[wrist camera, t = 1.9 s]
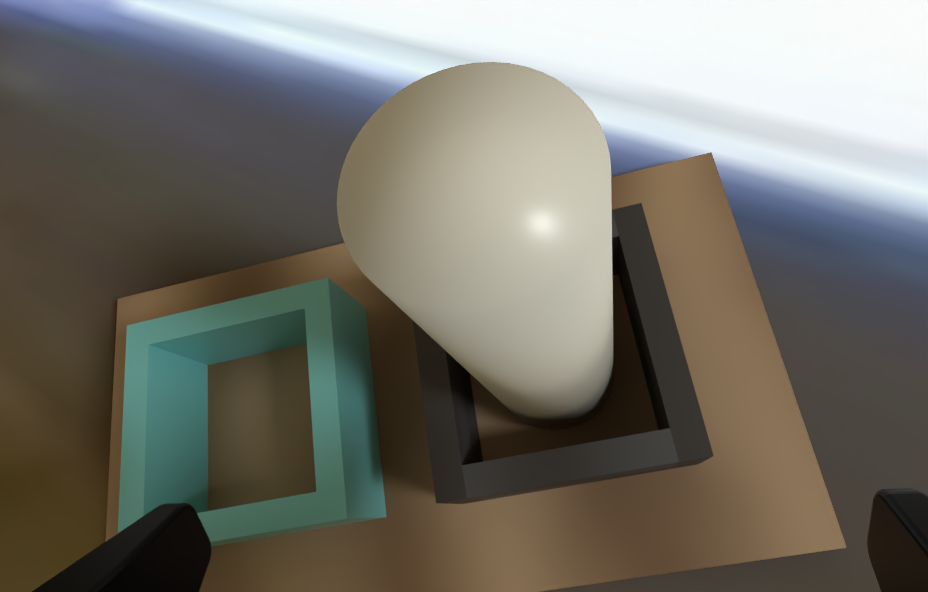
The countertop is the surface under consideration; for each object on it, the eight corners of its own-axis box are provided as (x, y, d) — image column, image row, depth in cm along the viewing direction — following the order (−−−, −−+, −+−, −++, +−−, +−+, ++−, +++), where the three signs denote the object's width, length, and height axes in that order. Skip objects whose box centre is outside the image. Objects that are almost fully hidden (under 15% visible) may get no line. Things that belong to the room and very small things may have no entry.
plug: (573, 453, 18) (507, 368, 7) (473, 388, 19) (286, 231, 8) (636, 350, 19) (666, 122, 8) (534, 294, 20) (434, 28, 9)
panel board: (707, 168, 21) (726, 95, 17) (833, 545, 17) (894, 555, 13) (136, 306, 25) (51, 271, 21) (123, 647, 20) (14, 678, 17)
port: (365, 307, 21) (327, 277, 18) (386, 517, 19) (347, 518, 16) (187, 348, 22) (126, 325, 20) (186, 551, 20) (116, 557, 17)
